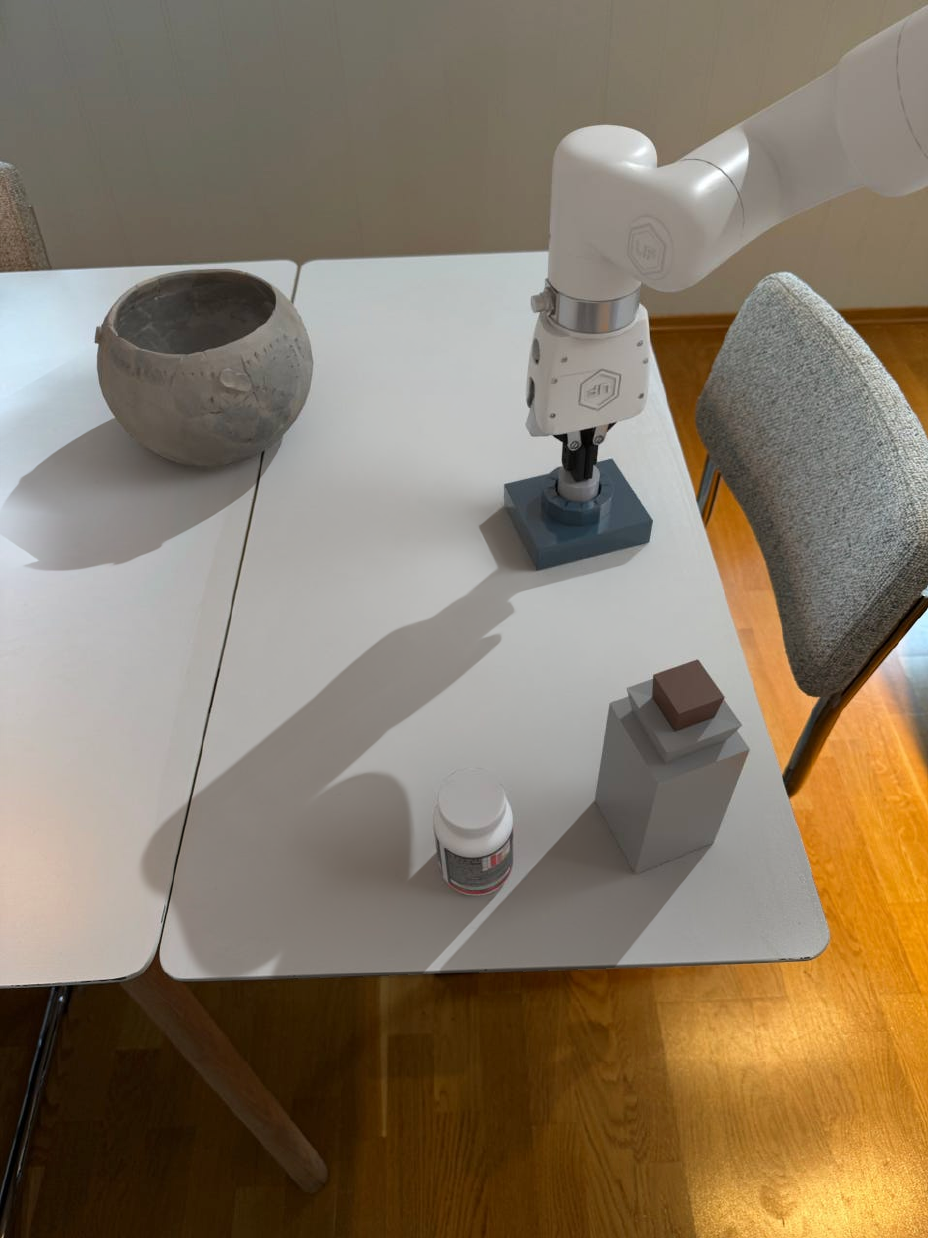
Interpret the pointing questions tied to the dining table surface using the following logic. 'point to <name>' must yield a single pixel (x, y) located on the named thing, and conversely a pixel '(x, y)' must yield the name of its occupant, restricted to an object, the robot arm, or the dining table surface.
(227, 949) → the dining table surface
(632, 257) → the robot arm
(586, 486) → the grey button cap
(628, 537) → the button housing
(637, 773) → the perfume bottle
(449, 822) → the pill bottle
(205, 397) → the bowl
